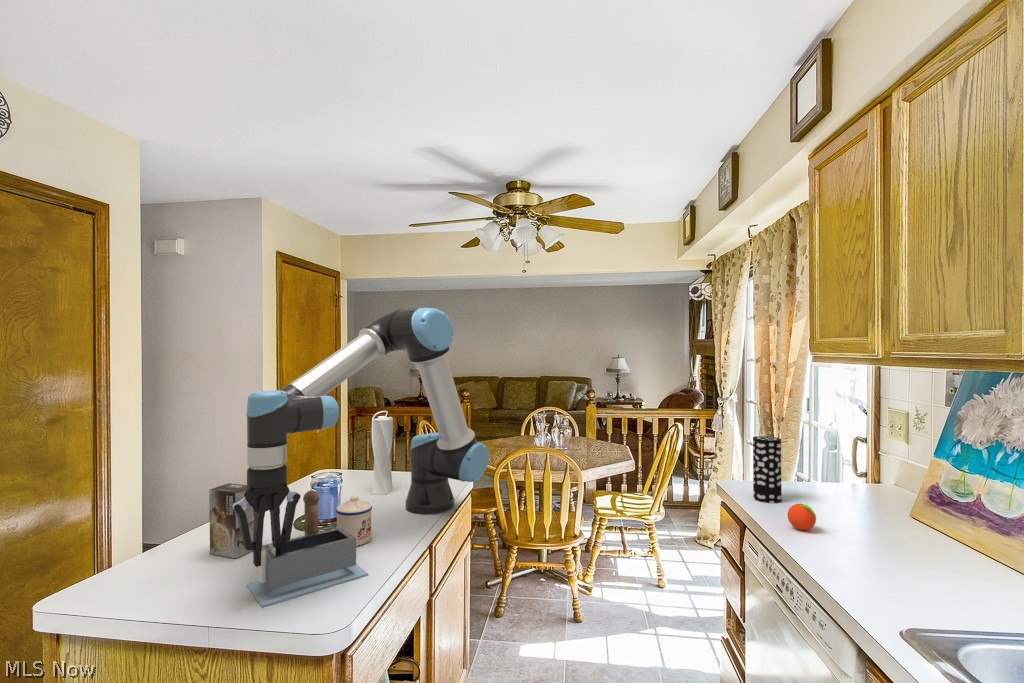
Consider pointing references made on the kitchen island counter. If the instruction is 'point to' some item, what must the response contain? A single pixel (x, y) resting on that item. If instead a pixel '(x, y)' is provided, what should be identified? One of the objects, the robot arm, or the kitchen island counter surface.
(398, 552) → the kitchen island counter surface
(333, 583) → the slate mat
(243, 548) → the coffee box
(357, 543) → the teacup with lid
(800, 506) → the clementine
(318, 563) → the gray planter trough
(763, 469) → the spotted tube
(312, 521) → the walnut peg
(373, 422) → the skyscraper
